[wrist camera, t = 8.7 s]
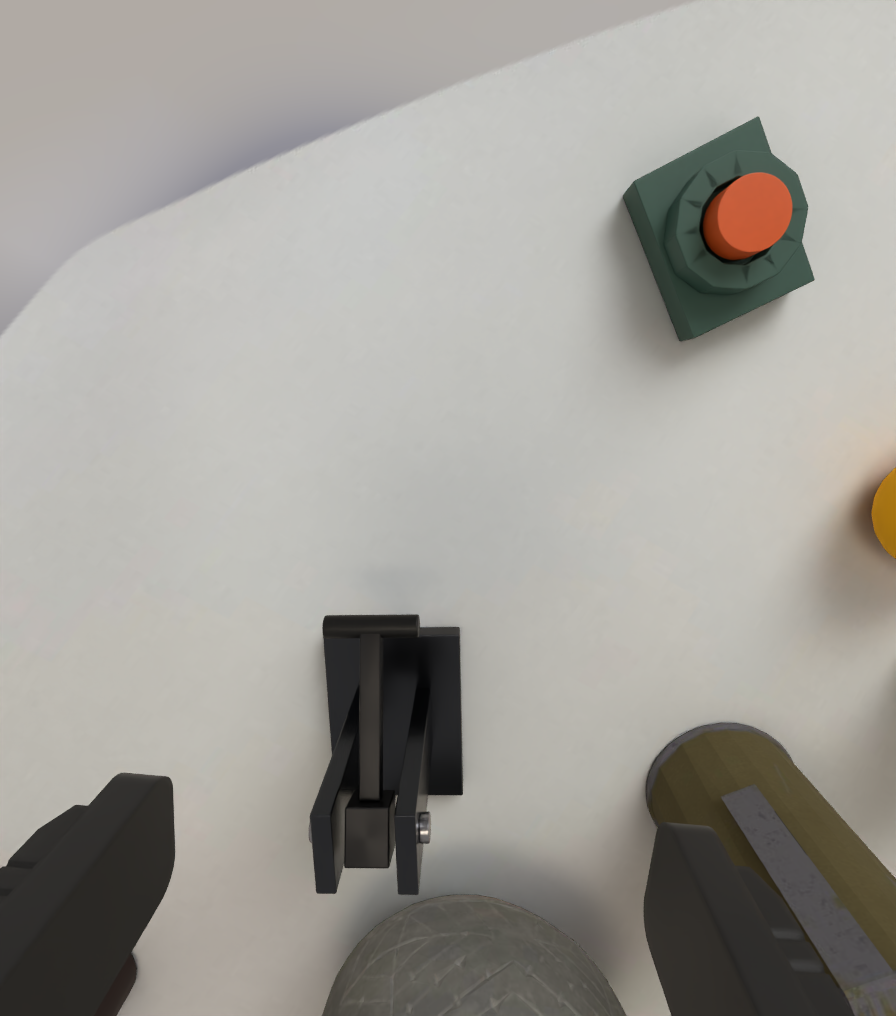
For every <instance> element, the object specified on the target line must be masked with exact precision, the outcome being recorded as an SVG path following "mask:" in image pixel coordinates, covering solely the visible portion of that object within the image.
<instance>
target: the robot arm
mask: <svg viewBox="0 0 896 1016" xmlns="http://www.w3.org/2000/svg"><path fill="white" fill-rule="evenodd" d="M174 861H175V835H174V805H173V785H172V781H171V779H170V778H169V777H166V776H155V775H144V774H132V773H120V774H118V775H116V776H115V777H114V778H113V779H112V780H111V781H110V782H109V783H108V784H107V785H106V786H105V788H104V789H103V790H102V791H101V792H100V793H99V794H98V795H97V797H96V798H95V799H94V800H93V801H92V802H91V803H90V804H89V805H88V806H83V805H75V806H73V807H72V808H70V809H69V810H67V811H66V812H64V813H62V814H61V815H59V816H58V817H56V818H55V819H53V820H52V821H50V822H49V823H47V824H46V825H44V826H42V827H41V828H39V829H38V830H37V831H36V832H35V833H34V834H33V835H32V836H31V837H30V838H29V839H28V840H27V841H26V843H25V844H24V845H23V846H22V847H21V848H20V849H19V850H18V851H17V852H16V853H15V854H14V855H13V856H12V857H11V858H10V859H9V861H8V864H7V866H6V867H3V866H2V868H1V869H0V1016H94V1015H95V1013H96V1011H97V1009H98V1008H99V1006H100V1004H101V1003H102V1001H103V999H104V998H105V996H106V994H107V992H108V991H109V989H110V987H111V986H112V984H113V982H114V981H115V979H116V977H117V975H118V974H119V972H120V970H121V969H122V967H123V965H124V964H125V962H126V960H127V958H128V957H129V955H130V953H131V952H132V950H133V948H134V947H135V945H136V943H137V941H138V940H139V938H140V936H141V935H142V933H143V931H144V929H145V928H146V926H147V924H148V923H149V921H150V919H151V918H152V916H153V914H154V912H155V911H156V909H157V907H158V906H159V904H160V902H161V900H162V899H163V897H164V894H165V892H166V890H167V887H168V885H169V882H170V879H171V875H172V871H173V867H174ZM644 924H645V931H646V937H647V941H648V945H649V949H650V952H651V955H652V958H653V961H654V964H655V967H656V970H657V973H658V976H659V979H660V982H661V985H662V988H663V991H664V994H665V997H666V1000H667V1003H668V1007H669V1010H670V1013H671V1016H854V1014H853V1012H852V1011H851V1009H850V1007H849V1006H848V1004H847V1003H846V1001H845V999H844V998H843V996H842V995H841V993H840V991H839V990H838V988H837V986H836V985H835V983H834V982H833V980H832V978H831V977H830V975H829V974H826V973H825V971H824V965H823V964H822V962H821V961H820V959H819V957H818V956H817V954H816V952H815V951H814V949H813V948H812V946H811V944H810V943H809V942H806V941H805V938H804V933H803V931H802V930H801V928H800V927H799V925H798V923H797V922H796V920H795V919H794V917H793V915H792V914H791V912H790V910H789V909H788V907H787V906H786V904H785V902H784V901H783V899H782V898H781V897H780V896H779V895H778V894H777V893H776V892H775V891H774V890H773V889H772V888H771V887H770V886H769V885H768V884H767V883H766V882H765V881H764V880H763V879H762V878H761V877H760V876H759V875H758V874H757V873H756V872H755V871H754V870H753V869H751V868H750V867H746V866H735V865H734V863H733V861H732V860H731V858H730V856H729V854H728V853H727V851H726V849H725V847H724V845H723V844H722V842H721V840H720V838H719V837H718V835H717V833H716V832H715V831H714V830H713V829H712V828H711V827H709V826H702V825H690V824H679V823H668V822H662V823H661V824H660V825H659V826H658V829H657V833H656V838H655V843H654V848H653V854H652V859H651V864H650V870H649V875H648V880H647V886H646V891H645V897H644Z"/></svg>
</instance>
